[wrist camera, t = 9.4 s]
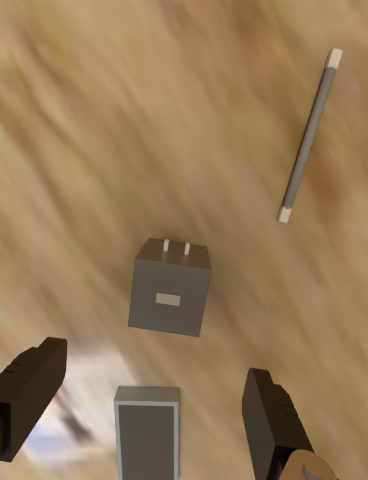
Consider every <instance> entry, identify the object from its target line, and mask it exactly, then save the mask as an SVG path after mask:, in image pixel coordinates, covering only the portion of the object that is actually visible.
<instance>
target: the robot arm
mask: <svg viewBox="0 0 368 480" xmlns="http://www.w3.org/2000/svg"><path fill="white" fill-rule="evenodd" d="M66 361H67V340H66V339H61V338H54V337H47V338H46V339H45V340H44V341H43V342H42V344H41V345H40V346H39V347H38V348H36V347H31V348H30V349H28V350H26V351H24V352H22V353H21V354H19V355H18V356H17V357H16V358H15V359H14V360H13V361H12V362H11V364H10V365H8V366H7V367H6V368H5V369H4V371H3V372H1V373H0V461H5V462H12V460H13V458H14V457H15V455H16V454H17V452H18V451H19V449H20V448H21V446H22V445H23V443H24V442H25V440H26V439H27V437H28V435H29V434H30V432H31V431H32V429H33V428H34V426H35V425H36V423H37V422H38V420H39V419H40V417H41V416H42V414H43V412H44V411H45V409H46V408H47V406H48V405H49V403H50V402H51V400H52V399H53V397H54V396H55V394H56V392H57V391H58V389H59V388H60V386H61V385H62V382H63V380H64V377H65V373H66ZM242 415H243V420H244V425H245V430H246V434H247V439H248V444H249V449H250V454H251V459H252V464H253V469H254V474H255V479H256V480H339V479H337V478H336V475H335V473H334V472H333V470H332V469H331V467H330V466H329V465H328V464H327V463H326V462H325V461H324V460H323V459H322V458H321V457H319V456H318V455H316V454H315V453H314V451H313V448H312V446H311V444H310V441H309V439H308V437H307V435H306V432H305V430H304V428H303V425H302V423H301V421H300V419H299V418H298V414H297V412H296V409H295V408H294V405H293V403H292V400H291V398H290V396H289V394H288V393H287V392H286V391H285V390H284V389H283V388H282V386H281V385H277V384H273V381H272V378H271V376H270V373H269V371H268V370H263V369H257V368H250V369H249V371H248V375H247V380H246V384H245V389H244V393H243V398H242Z"/></svg>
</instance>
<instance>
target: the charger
mask: <svg viewBox="0 0 368 480" xmlns="http://www.w3.org/2000/svg"><path fill="white" fill-rule="evenodd" d="M210 273H211V267H210V262H209V257H208V252H207V247H205V246H198V245H191V244H190V242H186V244H185V243H178V242H171V241H169V239H165V240H158V239H152V238H149V239H148V241H147V242H146V244H145V245H144V247H143V248H142V250H141V251H140V252H139V254H138V255H137V257H136V258H135V267H134V276H133V285H132V294H131V303H130V312H129V321H128V327H135V328H141V329H148V330H155V331H162V332H168V333H175V334H182V335H188V336H195V337H199V334H200V329H201V323H202V318H203V312H204V307H205V301H206V295H207V290H208V284H209V279H210Z"/></svg>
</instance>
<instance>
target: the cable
mask: <svg viewBox="0 0 368 480" xmlns="http://www.w3.org/2000/svg"><path fill="white" fill-rule="evenodd" d="M342 52H343V50H339V49H335V48H333V49H332V50H331V51H330V53H329V56H328V59H327V63H326V66H325V69H326V70H325V73H324V76H323V79H322V82H321V85H320V89H319V92H318V95H317V98H316V101H315V104H314V108H313V111H312V114H311V117H310V120H309V123H308V127H307V130H306V133H305V136H304V139H303V143H302V146H301V149H300V152H299V155H298V158H297V162H296V165H295V168H294V171H293V174H292V177H291V181H290V184H289V187H288V190H287V193H286V196H285V200H284V203H283V207H282V206H281V209H280V212H279V215H278V219H277V221H280V222H284V223H287V222H288V219H289V216H290V213H291V209H290V208H291V207H292V204H293V201H294V198H295V195H296V192H297V189H298V186H299V183H300V180H301V176H302V173H303V170H304V167H305V164H306V161H307V158H308V155H309V152H310V149H311V146H312V142H313V139H314V136H315V133H316V130H317V127H318V124H319V121H320V118H321V115H322V112H323V108H324V105H325V102H326V99H327V96H328V93H329V90H330V87H331V84H332V81H333V77H334V74H335V70H336V69H337V67H338V64H339V61H340V58H341V55H342Z"/></svg>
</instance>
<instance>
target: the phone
mask: <svg viewBox="0 0 368 480" xmlns="http://www.w3.org/2000/svg"><path fill="white" fill-rule="evenodd" d="M114 410H115V427H116V443H117V459H118V476H119V480H179V388H158V387H121V386H119V387H118V390H117V393H116V396H115V399H114Z"/></svg>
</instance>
